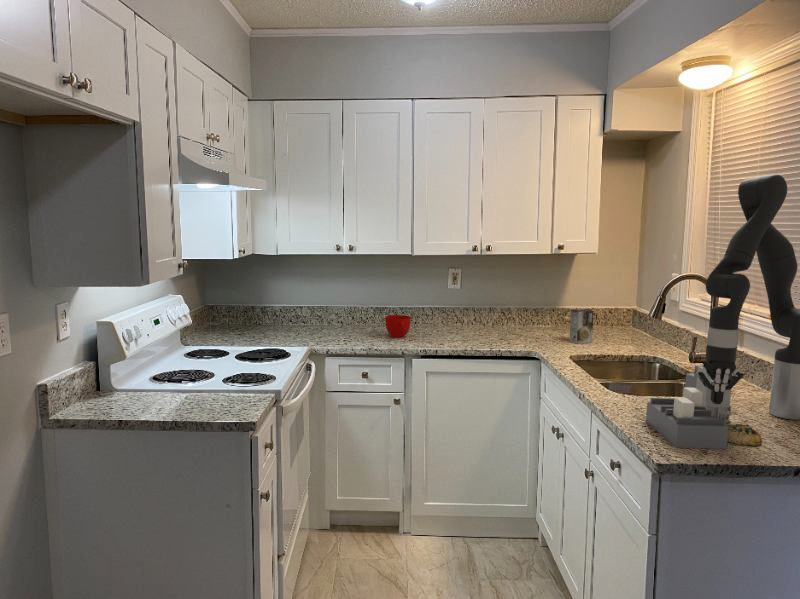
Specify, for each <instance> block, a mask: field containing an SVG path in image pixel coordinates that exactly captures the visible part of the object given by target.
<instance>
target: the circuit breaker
mask: <svg viewBox="0 0 800 599" xmlns="http://www.w3.org/2000/svg"><path fill="white" fill-rule="evenodd" d="M703 365H704V364H702V365H700V364H697V365H696V364H695V365H694V369H693V370H694V372H693V373H689V372H688V373H686V374H685V383H684V387H690V388H696V389H697V390H699V391H701V392H702V393H703V396H702V406H704V407H706V410H711V411H712V412H711V416H713V417H714V418H718V419H724V420H725V422H730V421H731V419H730V417H731V415H732V405H731V398H732V397H731V395H732V389H731V390H725V391H724V395H723V402H721V404H714V403H712V401H711V399H710V397H711V389H708V388H707V387H705V386H704V385H703V383H702V382H701V380H700V379H699V378H698V376H697V375H696V373H695V371H696V370H700V369H702V368H703ZM730 377H731V376H730ZM730 377H729V378H730ZM706 378H707V379H708V381H709V382H710V376H709V375H708V374H707V372H706ZM729 378H728V379H729Z"/></svg>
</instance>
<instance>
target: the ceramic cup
mask: <svg viewBox="0 0 800 599" xmlns="http://www.w3.org/2000/svg"><path fill="white" fill-rule="evenodd" d="M384 319H385V328H386V331H387V332H388V335H390V337H392V338H396V339H400V338H401V339H402V338H404V337H405V336H407V334H408V333H409V330H410V328H411V323H412V317H411V316H410V315H405V314H391V315H386V316H385V317H384Z"/></svg>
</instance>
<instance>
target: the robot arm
mask: <svg viewBox="0 0 800 599" xmlns="http://www.w3.org/2000/svg"><path fill="white" fill-rule="evenodd" d="M737 194H738V200H739V205H740V207H741V211H742V212H743V214H744V218H745V220H746V222H745V223H744V224H743V225H742V226H741V227H740V228H739V229H738V230H737V231H736V232H735V233H734V235H732V237H731V239H730V241H729V242H728V245H727V248H726V250H725V253H724V255H723V258H722V259H721V260H720V261H719V262H718V264H717V265H716V266H715V267H714V269H713V270H712V271H711V272H710V274H709V275H708V277H707V279H706V282H705V291H706V293H707V294H708V295H709V296H710V297H713V298H720V299H729V302H728V303H727V305H719V306H718V305H717V306H713V307H712V308H711V310H710V315H709V316H710V317H709V328H708V330H707V336H706V347H705V360H704V363H703V364H702V365H703V368H702V369H700V370H696V371H695V373H696V375H697V376H698V378H699V379H700V380H701V382H702V383H703V385H704V386H705V387H707V388H708V389H711V397H710V399H711V401H712V403H714V404H721V402H723V395H724V391H725V390H731V391H732V389H733V388H734V387H735V386H736V385H737V384H738V383H739V381H741V380H742V378H743V377H744V376H745V375H744V373H743V372H741V371H739V370H738V369H737V366H736V361H737V352H738V343H739V324H740V323H739V322H740V315H741V313H742V312H741V311H742V309H743V305H744V303H745V301H746V299H747V296H748V295H749V292H750V289H751V283H750V279H749V278H748V276H747V275H745V274H742V273H738V272H745V271H747V270H748V269H750V267H751V266H752V263H753V261H754V257H755V255H756V256H757V261H758V265H759V268H760V272H761V274H762V278H763V281H764V286H765V291H766V295H767V299H768V309H769V315H770V322H771V326H772V329H773V330H774V331H775V333H776V334H777V335H779V336H782V337H784V338H788V339H789V341H788V345H787V346H786V347H784V348H782V347H781V348H778V349H776V350H775V352H774V360H773V361H774V362H773V372H772V380H771V381H772V382H771V389H770V398H769V406H768V407H769V410H768V413H769V414H770V415H772V416H775V417H777V418H780V419H787V420H793V421H794V420H795V421H796V420H797V421H799V420H800V308H798V307H797V308H796V306H795V304H794V302H793V299H792V293H791V292H792V290H791V289H792V285H793V284H794V281H795V278H796V275H797V272H798V261H797V257H796V253H795V249H794V246H793V244H792V243H791V241H789V240H790V239H788V238H787V237H786V236H785V235H784V234H783V233H782V232H781V231H780V230H778V229H777V228H776V226H774V224H772V222H773V221H774V220H775V218H776V216H777V214H778V213H779V211H780V209H781V208H782V206H783V204H784V202H785V200H786V199H787V195H788V183H787V181H786V179H785V178H784V177H783V176H782V175H780V174H777V173H776V174H773V173H772V174H767V175H761V176H756V177H755V176H754V177H750V178H746V179H743V180H742V181H741V182H740V183H739V185H738V190H737ZM706 372H707V374H708V375H709V376H710V382H709V381H708V379H707V378H706ZM730 376H731V377H730ZM729 377H730V378H729ZM728 378H729V379H728Z"/></svg>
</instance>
